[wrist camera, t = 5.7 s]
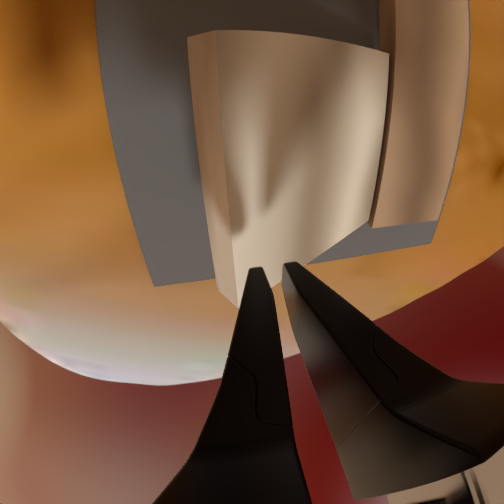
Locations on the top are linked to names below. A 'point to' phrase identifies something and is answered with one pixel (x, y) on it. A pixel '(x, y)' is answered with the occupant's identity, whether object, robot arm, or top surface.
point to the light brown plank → (420, 107)
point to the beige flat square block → (283, 145)
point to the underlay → (182, 118)
